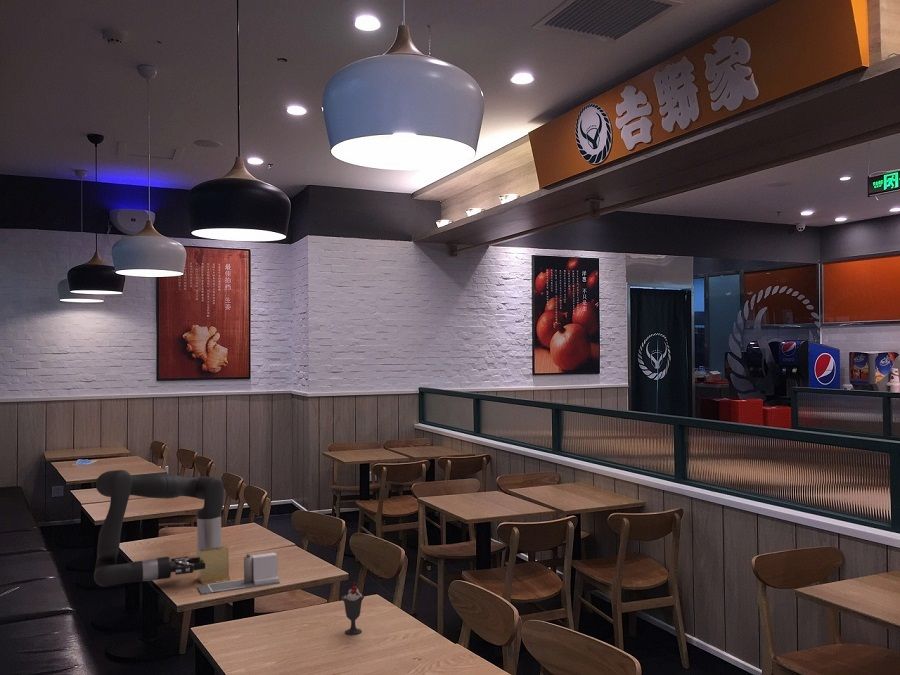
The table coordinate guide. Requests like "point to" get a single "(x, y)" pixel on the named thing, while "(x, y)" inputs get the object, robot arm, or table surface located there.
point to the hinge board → (249, 574)
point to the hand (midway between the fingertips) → (203, 562)
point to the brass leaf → (214, 564)
